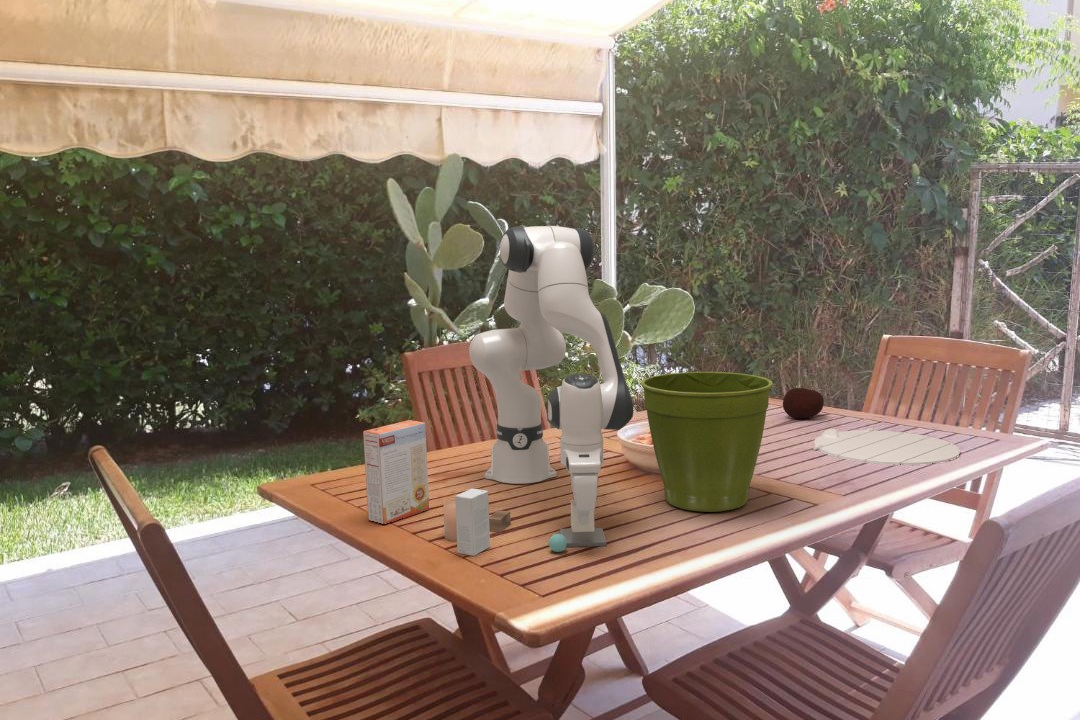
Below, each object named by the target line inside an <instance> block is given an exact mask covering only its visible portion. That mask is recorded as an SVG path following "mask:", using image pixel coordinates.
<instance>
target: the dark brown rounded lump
mask: <svg viewBox="0 0 1080 720" xmlns="http://www.w3.org/2000/svg"><path fill="white" fill-rule="evenodd" d="M824 402H825V400H824V397H823V395H822V394H821V392H818V391H817V390H813V389H809V388H805V387H804V388H803V387H794V388H790V389H789V390H788V391H787V392H786V393H785V395H784V397H783V399H782V408H783V410H784V412H785V414H787V416H789V417H790V418H791V417H792V418H794V419H796V420H797V419H799V420H800V419H801V420H802V419H803V420H804V419H808V418H809V419H810V418H812V417H815V416H817V415H818V414H820V413H821V412H822V410H823V408H824V404H825V403H824Z"/></svg>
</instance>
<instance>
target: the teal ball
mask: <svg viewBox="0 0 1080 720" xmlns="http://www.w3.org/2000/svg"><path fill="white" fill-rule="evenodd" d="M548 546H549V548H550V550H552V552H555V553H561V552H563V551H564V550H565V549H566V548H567V547H566V546H567V540H566V538H565V537H564V536H563V535H561V534H560V533H554V534H552V536H551V537H550V538H549V540H548Z"/></svg>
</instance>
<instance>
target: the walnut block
mask: <svg viewBox="0 0 1080 720" xmlns="http://www.w3.org/2000/svg"><path fill="white" fill-rule="evenodd" d="M511 521H512V520H511V511H509V510H508V511H507V510H496V511H495V512H494V513H493V514H491V515H489V528H490V533H502V532H503V531H504V530H505V529H506V528H508V527H509V526H510V525H511V523H512V522H511Z"/></svg>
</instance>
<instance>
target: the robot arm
mask: <svg viewBox="0 0 1080 720" xmlns="http://www.w3.org/2000/svg"><path fill="white" fill-rule="evenodd" d="M499 254H500V258H501V263H502V265H503V266H504V267H505V268H506V269H507V270H508V275H507V279H506V285H505V286H506V287H505V294H504V299H503V306H504V309H505V312H506V313H507V314H508V316H509V317H511V318H512V319H514V320H516V321H517V322H519V323H520V324H519V326H518V327H514V328H513V327H511V328H499V329H491V330H487V331H483V332H481V333H477V334H475V336H474V337H473V338H472V340H471V341H470V344H469V350H468V351H469V352H468V354H469V360H470V361H471V364H472V366H473V367H474V368H475V369H476V370H477V371H478V372H480V373H481V374H483V375H484V376H485V377H486V378H487V379H488V381H489V382H490V384H491V385H492V388H493V390H494V392H495V396H496V405H497V422H498V423H497V424H496V428H495V429H496V430H495V431H496V438H497V439H496V442H495V443H494V444H493V445H492V446H491V448H490V457H491V461H490V464H491V466H490V467H489V468H488V469H487V470H486V472H485V473H484V477H483V478H484V479H487V480H494V481H496V482H500V483H503V484H516V485H517V484H518V485H519V484H520V485H521V484H534V483H539V482H542V481H545V480H547V479H551V478H555V477H558V474H557V473H558V472H557V471H556V470H555V469H554V468H553V467H552V466H551V465H550V448H549V447H550V446H549V445H548V443H546V441H545V440H544V439H543V437H544V427H543V425H544V424H543V423H542V414H541V412H542V410H541V409H542V406H541V404H542V403H541V401H542V400H541V399H542V398H541V395H540V393H539V391H538V390H537V389H536V388H534V387H532V385H529V384H527V383H524V382H522V379H521V373H520V372H521V371H524V372H525V371H532V370H544V369H548V368H550V367H551V368H552V367H554V366H557V365H559V364H561V363H562V361H563V360H564V358H565V356H566V352H567V343H566V340H565V338H564V335H563V334H562V333H564V334H568V335H571V336H574V337H577V338H579V339H582V340H584V341H585V342H586V343H588V344H589V345H591V347H593V349H594V351H595V354H596V357H597V361H598V364H599V365H598V366H599V368H600V372H601V377H602V379H603V382H602V383H600V380H599V379H598V378H597V377H595V376H593V375H589V374H586V373H575V374H570V375H568V376H566V377H564V378H563V380H562V381H561V382H562V383H561V385H560V386H556V387H554V388H553V389H552V390H551V391H550V392H549V393H548V394H547V396H546V403H547V405H546V406H547V408H546V409H547V411H546V417H547V418H546V420H547V422H548V423H549V424H550V425H552V427H554V428H555V429H557V430H561V435H560V438H559V439H560V440H559V441H560V443H559V445H560V446H559V447H560V450H559V451H560V454H559V455H560V456H559V457H560V463H561V464H562V465H563V466H564V467H565V468H566V471H567V472H568V473H569V475H570V485H571V490H572V494H573V498H574V499H573V500H575V503H576V508H577V511H579V523H580V524H581V525H587V524H588V515H589V511H594V512H595V509H596V505H597V498H598V497H597V493H598V482H599V473H601V472H602V465H603V463H604V435H603V432H602V430H608V431H609V430H611V431H620V430H621V429H623V428H624V427H626V426H627V425H628V424H629V422H630V421H631V420H632V419H633V417H634V402H633V398H632V395H631V391H630V388H629V386H628V383H627V381H626V377H625V375H624V372H623V368H622V365H621V360H620V357H619V354H618V349H617V347H616V346H617V345H616V343H615V339H614V336H613V332H612V330H611V327H610V323H609V321H608V318H607V316H606V315H605V313H604V312H602V311H601V310H598V309H597V307H596V306H595V305H594V303H593V301H592V299H591V297H590V293H589V286H588V285H589V284H588V275H587V272H586V271H587V270H588V269H589V268H590V267H591V265H592V263H593V261H594V255H595V243H594V239H593V237H592V235H591V234H590V232H589V231H588V230H585V229H582V228H578V227H573V228H571V227H566V226H558V225H545V226H543V225H540V226H539V225H537V226H522V225H520V226H512V227H509V228H507V229H506V230H505V232H504V233H503V234H502V237H501V241H500V246H499Z"/></svg>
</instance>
